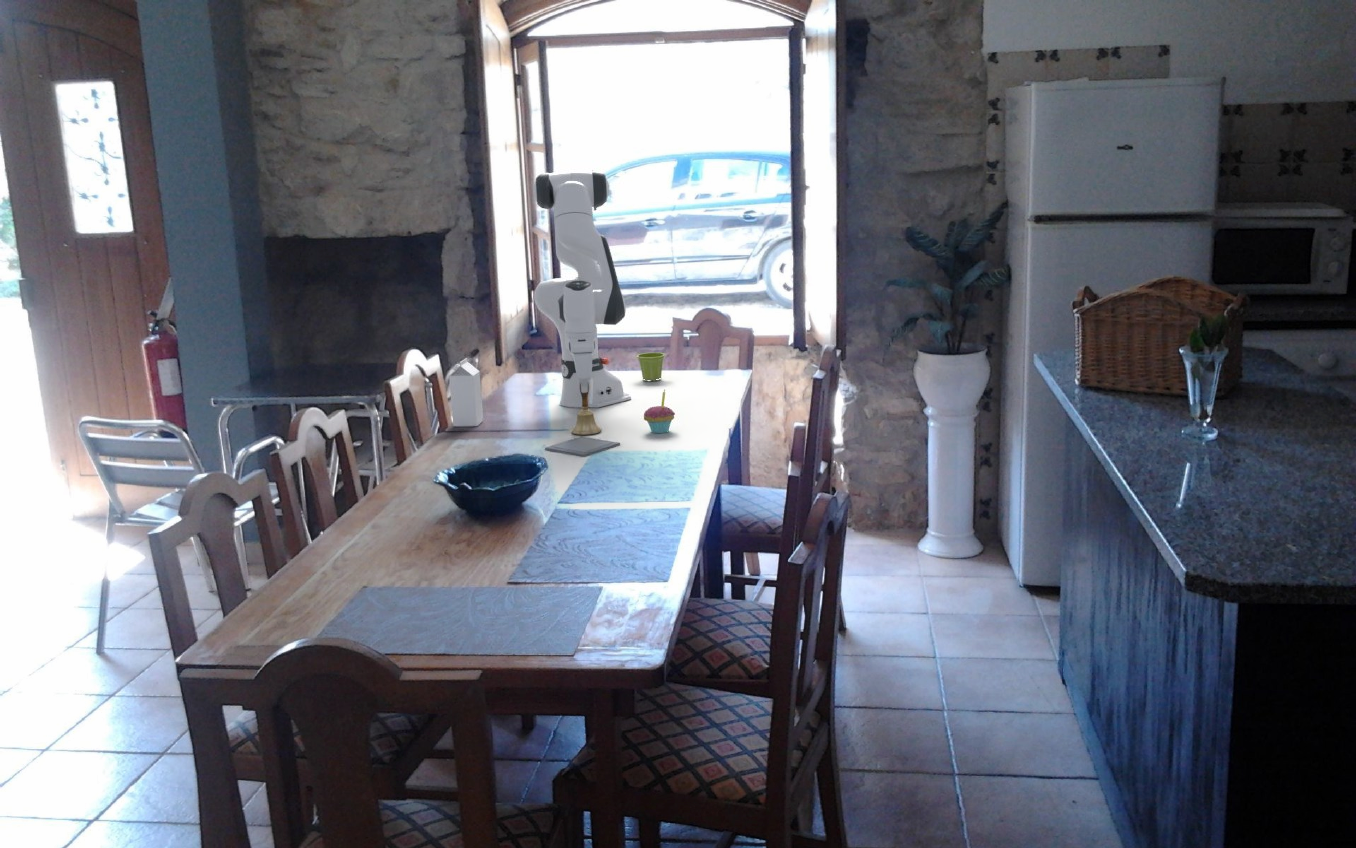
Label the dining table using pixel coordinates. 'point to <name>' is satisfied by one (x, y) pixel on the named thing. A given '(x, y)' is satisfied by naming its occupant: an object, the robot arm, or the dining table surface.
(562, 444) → the plate
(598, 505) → the dining table surface
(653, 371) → the plant pot
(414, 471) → the dining table surface
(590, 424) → the hand bell
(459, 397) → the milk carton
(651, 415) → the cupcake
